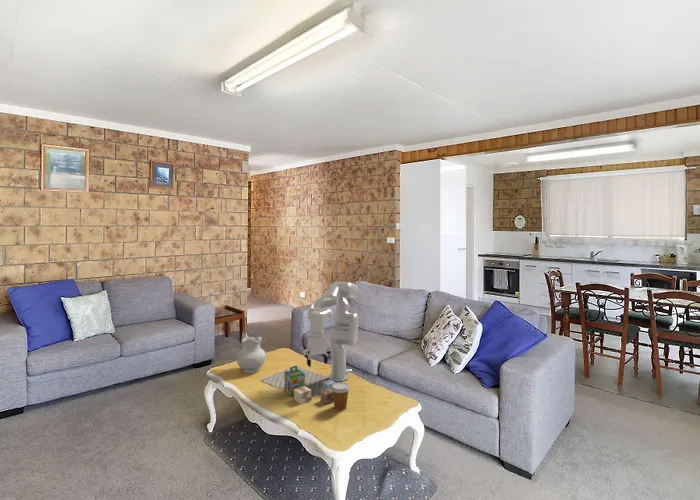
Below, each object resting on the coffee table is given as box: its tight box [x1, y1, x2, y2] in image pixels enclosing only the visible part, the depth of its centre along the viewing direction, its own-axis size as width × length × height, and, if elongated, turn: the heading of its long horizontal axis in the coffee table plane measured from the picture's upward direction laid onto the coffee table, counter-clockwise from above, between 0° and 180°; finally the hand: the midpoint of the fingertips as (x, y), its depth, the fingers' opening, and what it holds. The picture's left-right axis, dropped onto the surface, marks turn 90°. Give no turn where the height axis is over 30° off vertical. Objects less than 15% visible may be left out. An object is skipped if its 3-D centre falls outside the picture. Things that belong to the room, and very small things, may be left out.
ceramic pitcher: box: [236, 331, 267, 375], centre depth 257 cm, size 22×20×25 cm
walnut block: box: [320, 389, 334, 405], centre depth 212 cm, size 6×6×6 cm
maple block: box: [293, 385, 312, 405], centre depth 213 cm, size 7×7×6 cm
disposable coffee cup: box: [331, 381, 350, 411], centre depth 204 cm, size 10×10×12 cm
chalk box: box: [284, 365, 306, 397], centre depth 224 cm, size 9×9×15 cm
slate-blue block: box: [321, 379, 336, 391], centre depth 224 cm, size 6×6×6 cm
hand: (317, 364), depth 211 cm, fingers open, 9 cm apart
